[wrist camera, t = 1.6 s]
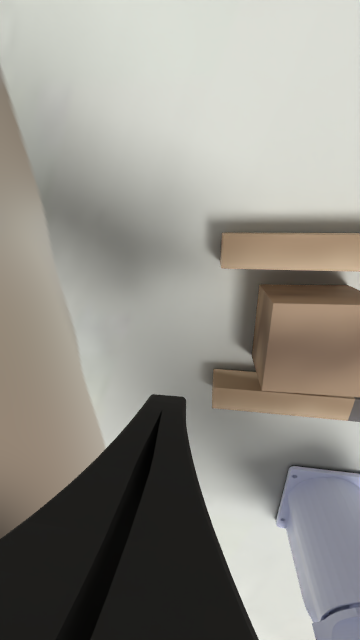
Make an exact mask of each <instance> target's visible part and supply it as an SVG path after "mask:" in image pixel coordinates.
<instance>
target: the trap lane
mask: <svg viewBox="0 0 360 640" xmlns="http://www.w3.org/2000/svg"><path fill="white" fill-rule="evenodd" d="M220 264H221V268H224V269H269V270H314V271H359V272H360V233H222V242H221V258H220ZM212 408H218V409H228V410H239V411H250V412H260V413H271V414H282V415H292V416H303V417H314V418H324V419H335V420H346V421H356V422H360V397H347V396H332V395H317V394H303V393H288V392H273V391H262V390H261V386H260V383H259V379H258V376H257V372H249V371H235V370H222V369H214V370H213V386H212Z"/></svg>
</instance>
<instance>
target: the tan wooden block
mask: <svg viewBox="0 0 360 640" xmlns="http://www.w3.org/2000/svg"><path fill="white" fill-rule="evenodd" d="M252 358H253V362H254V365H255V369H256V372H257V376H258V379H259V383H260V386H261V390H262V391H273V392H288V393H303V394H317V395H332V396H347V397H360V291H359V290H357V289H355V288H353V287H350V286H348V285H271V284H259V292H258V301H257V311H256V320H255V330H254V339H253V348H252Z"/></svg>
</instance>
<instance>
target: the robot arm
mask: <svg viewBox="0 0 360 640" xmlns="http://www.w3.org/2000/svg"><path fill="white" fill-rule="evenodd" d="M276 525H277V526H278V527H280V528H286V530H287V534H288V539H289V543H290V547H291V551H292V556H293V560H294V564H295V568H296V572H297V577H298V581H299V585H300V589H301V594H302V598H303V601H304V604H305V607H306V609H307V611H308V613H309V616H310V617H311V619H312V621H313V622H314V623H312V626H313V630H314V634H315V638H316V640H360V474H357V473H349V472H340V471H332V470H323V469H315V468H306V467H298V466H292V467H290V468H289V471H288V475H287V479H286V483H285V487H284V491H283V495H282V499H281V503H280V507H279V511H278V515H277V518H276ZM0 640H259V639H258V637H257V635H256V633H255V630H254V628H253V626H252V623H251V621H250V619H249V617H248V614H247V612H246V609H245V607H244V605H243V602H242V600H241V597H240V595H239V593H238V590H237V588H236V585H235V583H234V581H233V578H232V576H231V573H230V571H229V568H228V565H227V563H226V560H225V557H224V555H223V552H222V550H221V547H220V544H219V542H218V539H217V536H216V534H215V531H214V528H213V526H212V523H211V520H210V517H209V514H208V511H207V508H206V505H205V502H204V498H203V495H202V492H201V489H200V485H199V482H198V478H197V475H196V471H195V467H194V463H193V459H192V455H191V450H190V445H189V440H188V434H187V428H186V399H185V398H184V397H177V396H166V395H155V394H153V395H151V396H150V397H149V399H148V400H147V401H146V403H145V404H144V405H143V407H142V408H141V409H140V410H139V412H138V413H137V414H136V415H135V417H134V418H133V419H132V420H131V421H130V423H129V424H128V425H127V426H126V427H125V428H124V430H123V431H122V432H121V433H120V434H119V435H118V436H117V438H116V439H115V440H114V441H113V442H112V443H111V444H110V445H109V446H108V447H107V448H106V449H105V450H104V451H103V452H102V453H101V455H100V456H99V457H98V458H97V459H96V460H95V461H94V462H93V463H91V464H90V465H89V466H88V467H87V468H86V469H85V470H84V471H83V472H82V473H81V474H80V475H79V476H78V477H77V478H76V479H74V480H73V481H72V482H71V483H70V484H69V485H68V486H67V487H65V488H64V489H63V490H62V491H61V492H59V493H58V494H57V495H56V496H55V497H54V498H52V499H51V500H50V501H49V502H48V503H47V504H45V505H44V506H43V507H42V508H40V509H39V510H38V511H37V512H35V513H34V514H33V515H32V516H31V517H29V518H28V519H26V520H25V521H24V522H23V523H21V524H20V525H18V526H17V527H16V528H14V529H13V530H12V531H11V532H9V533H8V534H6V535H5V536H4V537H2V538H1V539H0Z"/></svg>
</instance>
